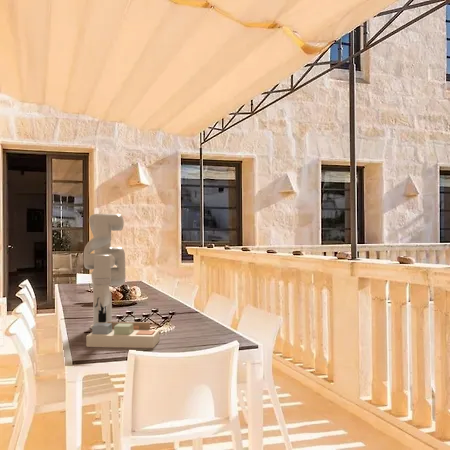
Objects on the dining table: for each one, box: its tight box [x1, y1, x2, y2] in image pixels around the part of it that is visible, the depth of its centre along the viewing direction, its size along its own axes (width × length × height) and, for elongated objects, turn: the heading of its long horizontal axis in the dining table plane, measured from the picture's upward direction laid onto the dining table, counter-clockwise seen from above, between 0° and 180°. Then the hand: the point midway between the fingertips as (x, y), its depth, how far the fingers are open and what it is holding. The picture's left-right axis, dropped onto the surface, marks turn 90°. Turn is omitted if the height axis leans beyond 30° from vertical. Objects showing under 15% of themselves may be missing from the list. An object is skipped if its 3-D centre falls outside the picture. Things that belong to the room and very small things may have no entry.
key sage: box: [114, 323, 133, 335], centre depth 231 cm, size 7×7×4 cm
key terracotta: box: [136, 330, 155, 335], centre depth 230 cm, size 7×7×4 cm
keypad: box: [85, 321, 161, 349], centre depth 232 cm, size 30×17×8 cm, turn 86°
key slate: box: [91, 323, 112, 334], centre depth 232 cm, size 7×7×4 cm
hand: (102, 321), depth 231 cm, fingers closed
